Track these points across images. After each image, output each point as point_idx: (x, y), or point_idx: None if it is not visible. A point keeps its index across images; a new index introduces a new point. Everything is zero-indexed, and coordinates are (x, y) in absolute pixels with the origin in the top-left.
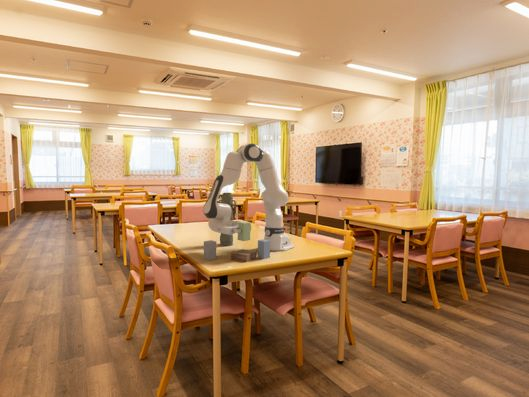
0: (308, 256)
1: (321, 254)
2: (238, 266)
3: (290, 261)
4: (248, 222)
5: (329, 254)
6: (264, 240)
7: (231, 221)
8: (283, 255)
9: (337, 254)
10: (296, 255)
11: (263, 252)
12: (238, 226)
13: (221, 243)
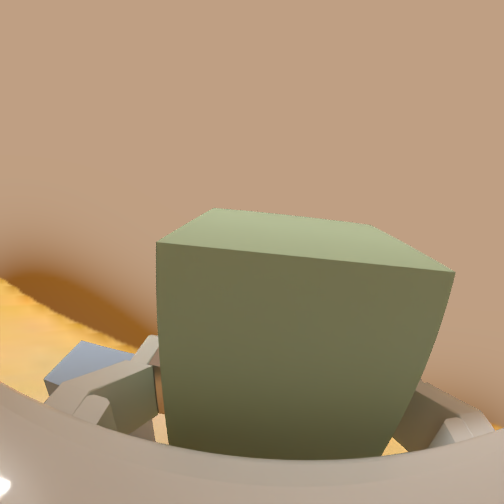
0: (34, 323)
1: (3, 303)
2: (391, 447)
3: (134, 351)
4: (221, 214)
5: (3, 292)
6: (92, 366)
7: None
8: (33, 388)
9: (3, 283)
10: (24, 350)
11: (150, 423)
12: (411, 372)
13: None
